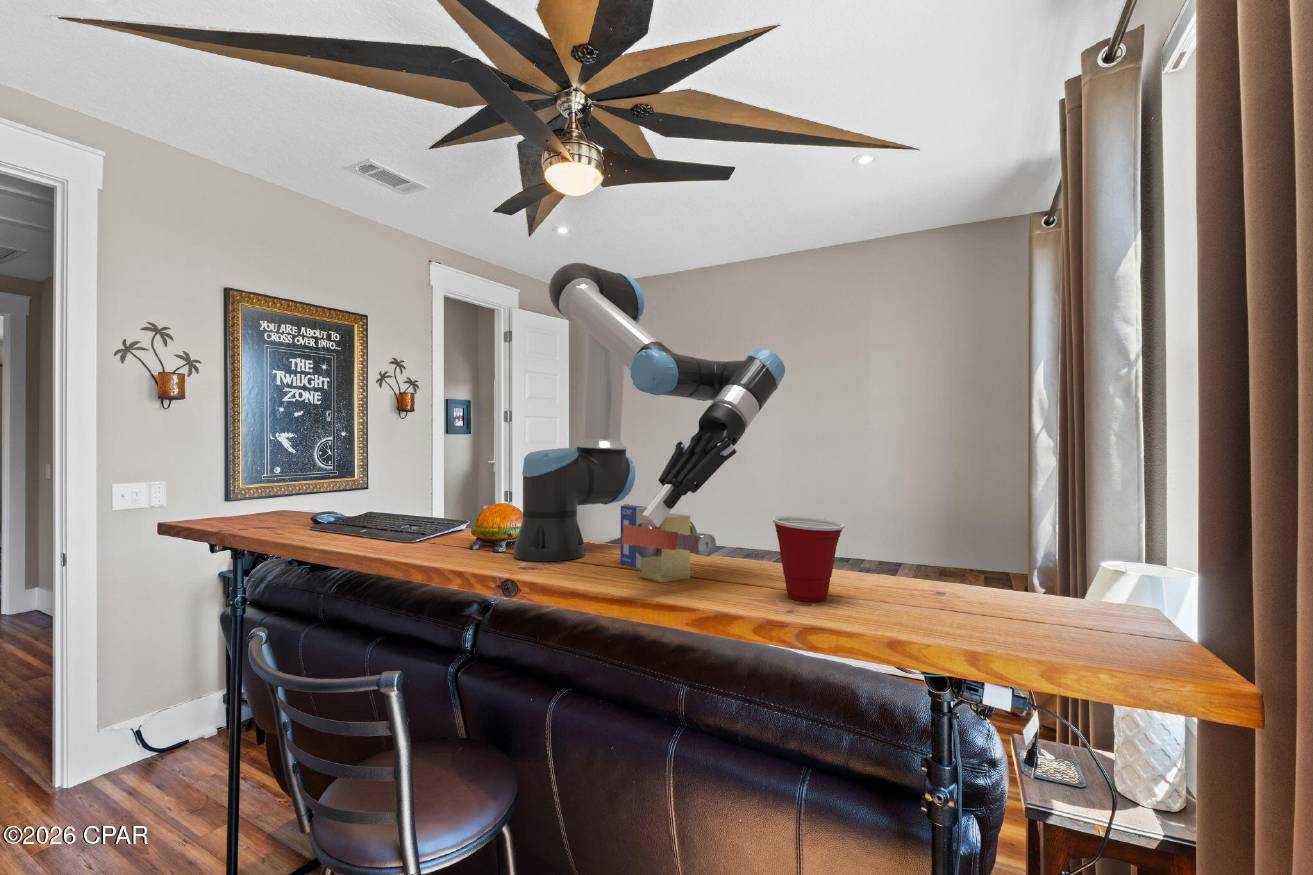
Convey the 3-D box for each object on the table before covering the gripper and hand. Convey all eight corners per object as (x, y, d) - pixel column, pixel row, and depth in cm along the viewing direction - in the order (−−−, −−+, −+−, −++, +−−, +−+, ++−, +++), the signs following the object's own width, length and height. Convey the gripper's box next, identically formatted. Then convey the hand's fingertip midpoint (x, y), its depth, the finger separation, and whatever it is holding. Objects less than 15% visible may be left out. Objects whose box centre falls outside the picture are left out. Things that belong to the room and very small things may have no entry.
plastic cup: (825, 611, 80) (824, 524, 81) (758, 598, 87) (758, 518, 88) (858, 597, 88) (857, 518, 89) (794, 586, 95) (794, 514, 96)
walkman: (620, 563, 117) (620, 503, 117) (631, 561, 119) (632, 503, 119) (641, 569, 111) (641, 506, 111) (653, 567, 112) (653, 505, 113)
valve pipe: (633, 578, 102) (633, 515, 103) (676, 571, 108) (676, 512, 109) (673, 589, 93) (673, 521, 94) (717, 581, 99) (717, 517, 100)
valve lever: (704, 555, 97) (620, 545, 87) (707, 533, 97) (623, 521, 87) (714, 557, 95) (629, 547, 85) (717, 535, 96) (633, 523, 85)
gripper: (767, 432, 96) (691, 542, 85) (712, 435, 106) (638, 533, 95) (744, 398, 93) (662, 507, 82) (691, 404, 103) (611, 502, 92)
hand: (650, 521), depth 88 cm, fingers closed
